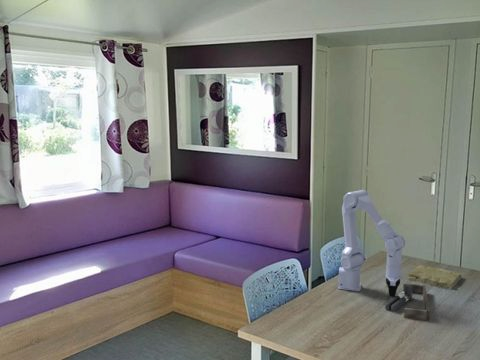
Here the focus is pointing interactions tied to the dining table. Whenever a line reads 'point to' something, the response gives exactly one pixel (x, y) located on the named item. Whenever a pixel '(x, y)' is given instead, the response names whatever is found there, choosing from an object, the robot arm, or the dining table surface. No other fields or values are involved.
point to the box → (416, 312)
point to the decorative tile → (435, 276)
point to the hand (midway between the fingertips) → (392, 296)
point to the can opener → (399, 299)
